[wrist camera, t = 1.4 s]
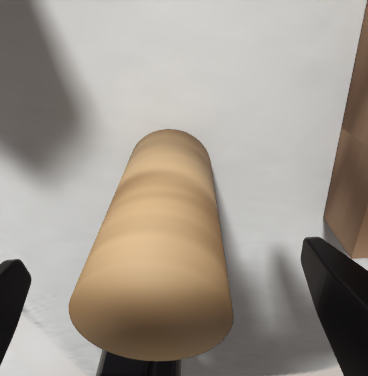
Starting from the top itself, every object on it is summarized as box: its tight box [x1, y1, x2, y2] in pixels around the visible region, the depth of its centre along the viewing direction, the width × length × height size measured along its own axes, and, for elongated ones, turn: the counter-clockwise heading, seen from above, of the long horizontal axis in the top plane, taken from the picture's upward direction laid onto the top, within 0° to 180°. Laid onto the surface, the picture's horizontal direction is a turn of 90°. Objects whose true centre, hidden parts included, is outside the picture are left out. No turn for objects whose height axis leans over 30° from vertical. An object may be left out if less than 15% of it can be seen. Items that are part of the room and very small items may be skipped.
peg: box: [69, 129, 233, 361], centre depth 10 cm, size 4×4×8 cm
